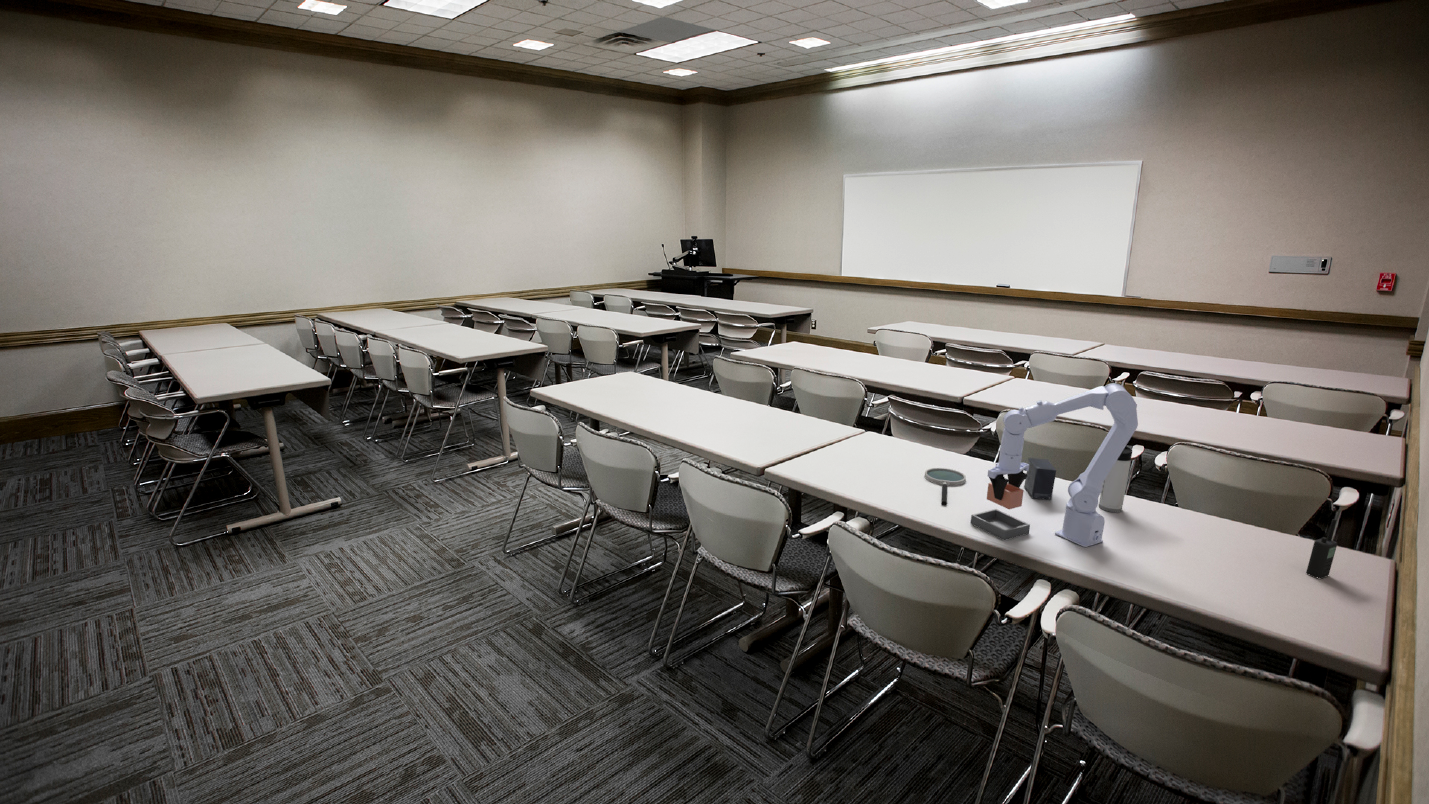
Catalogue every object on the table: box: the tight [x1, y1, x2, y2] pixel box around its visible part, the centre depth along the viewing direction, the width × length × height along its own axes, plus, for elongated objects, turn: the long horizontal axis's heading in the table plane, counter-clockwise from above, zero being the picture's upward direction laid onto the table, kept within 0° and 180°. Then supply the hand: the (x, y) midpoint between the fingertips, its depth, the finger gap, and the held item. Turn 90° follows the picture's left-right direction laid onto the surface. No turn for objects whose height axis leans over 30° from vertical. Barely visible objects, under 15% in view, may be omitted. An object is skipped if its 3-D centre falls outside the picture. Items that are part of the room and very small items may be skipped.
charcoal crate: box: [970, 508, 1031, 541], centre depth 193 cm, size 12×10×3 cm
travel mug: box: [1098, 445, 1133, 513], centre depth 205 cm, size 6×7×20 cm
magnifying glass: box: [924, 467, 967, 506], centre depth 223 cm, size 13×31×2 cm, turn 161°
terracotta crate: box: [986, 482, 1025, 510], centre depth 193 cm, size 8×5×5 cm, turn 26°
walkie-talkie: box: [1305, 518, 1338, 579], centre depth 168 cm, size 5×3×15 cm
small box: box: [1023, 457, 1057, 501], centre depth 217 cm, size 11×6×10 cm, turn 168°
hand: (1004, 497), depth 193 cm, fingers closed on terracotta crate, 5 cm apart
